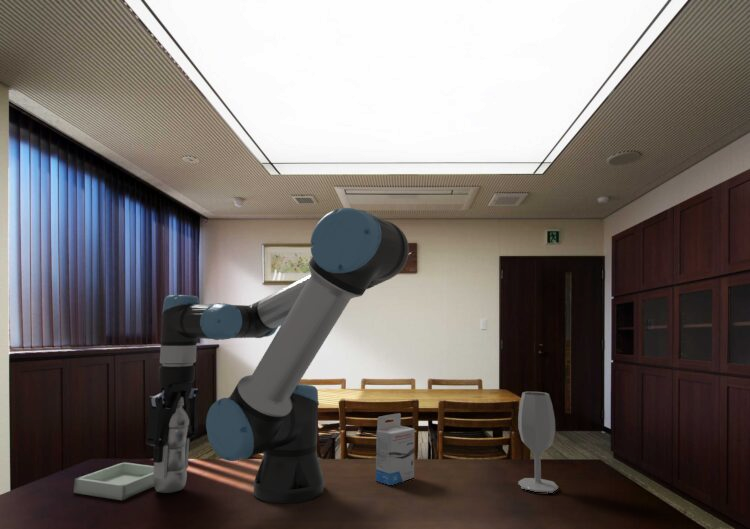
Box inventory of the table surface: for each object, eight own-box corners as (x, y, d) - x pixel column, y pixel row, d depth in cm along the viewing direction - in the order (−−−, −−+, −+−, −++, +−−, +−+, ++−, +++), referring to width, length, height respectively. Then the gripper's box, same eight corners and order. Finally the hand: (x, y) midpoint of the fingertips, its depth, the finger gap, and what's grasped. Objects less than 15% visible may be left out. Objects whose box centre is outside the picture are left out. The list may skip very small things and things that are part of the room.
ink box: (390, 487, 108) (390, 420, 109) (374, 481, 111) (375, 416, 113) (415, 479, 114) (415, 415, 115) (399, 474, 117) (400, 412, 119)
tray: (167, 480, 110) (167, 467, 110) (121, 500, 98) (122, 486, 98) (122, 474, 114) (123, 462, 114) (73, 492, 102) (74, 478, 102)
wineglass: (516, 491, 106) (514, 394, 108) (520, 479, 114) (518, 389, 116) (558, 497, 103) (555, 397, 105) (559, 484, 111) (556, 392, 113)
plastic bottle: (174, 498, 99) (180, 399, 102) (145, 495, 101) (152, 398, 103) (192, 487, 106) (197, 395, 108) (165, 485, 107) (170, 393, 109)
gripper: (191, 360, 116) (186, 459, 114) (130, 367, 99) (122, 484, 96) (218, 361, 114) (212, 462, 111) (160, 369, 96) (152, 489, 94)
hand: (171, 472), depth 104 cm, fingers closed on plastic bottle, 6 cm apart
